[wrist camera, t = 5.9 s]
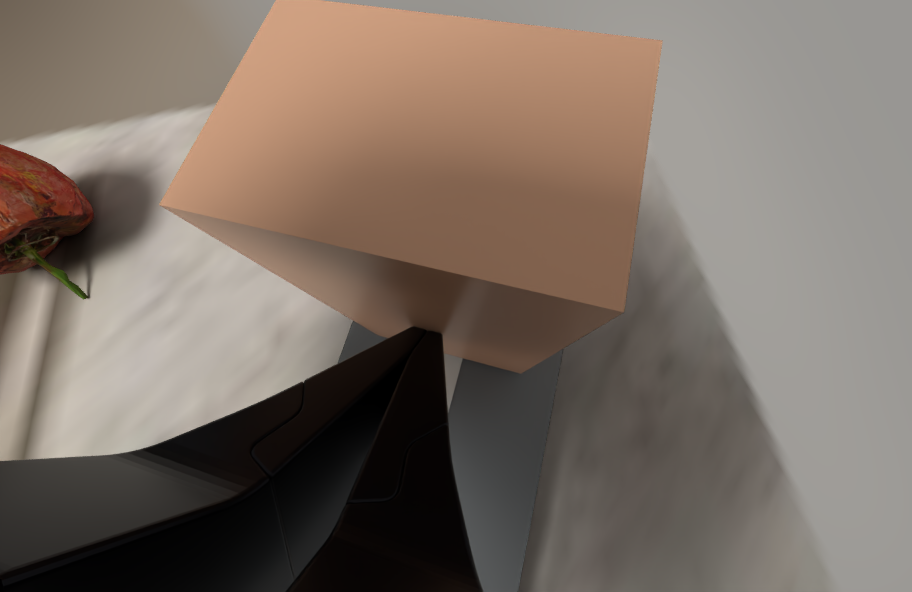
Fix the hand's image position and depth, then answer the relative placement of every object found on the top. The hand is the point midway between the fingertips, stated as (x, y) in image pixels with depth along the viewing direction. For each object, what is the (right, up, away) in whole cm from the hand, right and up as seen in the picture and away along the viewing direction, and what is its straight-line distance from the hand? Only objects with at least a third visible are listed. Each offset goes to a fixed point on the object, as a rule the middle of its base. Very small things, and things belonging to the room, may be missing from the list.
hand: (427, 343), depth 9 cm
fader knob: (+1, +1, +5) cm, 5 cm away
